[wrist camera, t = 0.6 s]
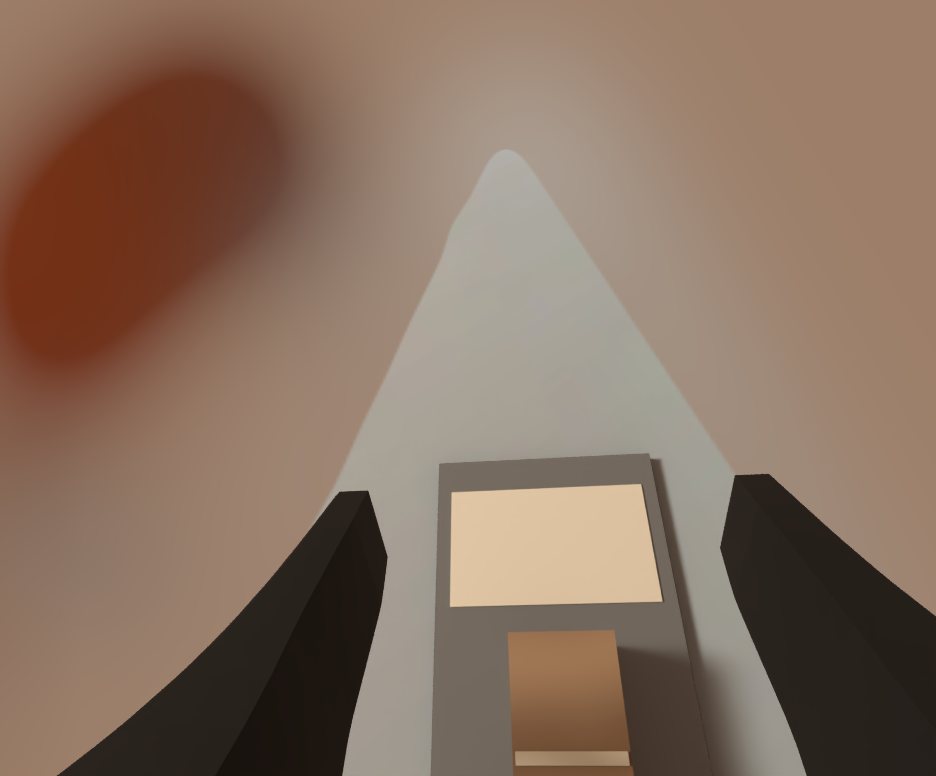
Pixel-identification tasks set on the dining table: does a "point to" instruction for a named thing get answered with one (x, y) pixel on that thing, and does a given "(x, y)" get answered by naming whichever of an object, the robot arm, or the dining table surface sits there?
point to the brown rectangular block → (567, 705)
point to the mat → (557, 603)
